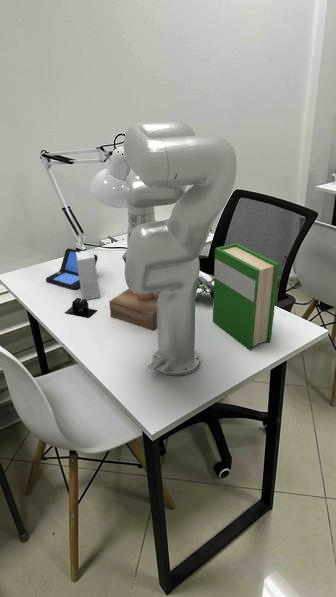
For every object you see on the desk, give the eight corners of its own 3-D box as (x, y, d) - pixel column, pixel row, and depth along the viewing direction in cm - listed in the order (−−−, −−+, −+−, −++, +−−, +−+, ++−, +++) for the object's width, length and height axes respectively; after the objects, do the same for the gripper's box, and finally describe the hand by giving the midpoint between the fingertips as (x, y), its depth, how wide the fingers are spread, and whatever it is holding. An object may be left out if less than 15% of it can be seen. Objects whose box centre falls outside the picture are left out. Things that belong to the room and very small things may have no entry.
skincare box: (100, 298, 146) (96, 257, 139) (82, 300, 145) (77, 259, 138) (97, 287, 153) (93, 248, 146) (80, 290, 152) (75, 250, 145)
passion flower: (211, 313, 147) (230, 294, 138) (185, 317, 141) (203, 297, 132) (198, 285, 151) (215, 265, 142) (172, 288, 145) (189, 267, 136)
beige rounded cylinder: (146, 302, 131) (145, 286, 129) (133, 297, 134) (132, 282, 131) (156, 295, 135) (156, 279, 132) (143, 291, 138) (142, 275, 135)
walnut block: (153, 331, 128) (152, 314, 125) (110, 318, 135) (109, 301, 132) (180, 308, 140) (180, 292, 137) (140, 297, 147) (139, 281, 144)
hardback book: (270, 342, 121) (279, 263, 109) (249, 350, 117) (256, 270, 106) (232, 315, 134) (236, 243, 123) (212, 322, 131) (215, 248, 120)
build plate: (103, 311, 139) (102, 299, 137) (91, 322, 133) (90, 309, 131) (71, 304, 144) (69, 292, 141) (58, 315, 138) (56, 302, 135)
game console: (44, 282, 159) (40, 259, 155) (69, 269, 169) (66, 247, 165) (76, 291, 151) (72, 268, 147) (100, 277, 162) (98, 254, 157)
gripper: (131, 228, 114) (136, 286, 122) (170, 213, 127) (171, 267, 134) (111, 223, 118) (116, 281, 126) (150, 209, 131) (152, 262, 138)
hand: (144, 273), depth 130 cm, fingers open, 9 cm apart
